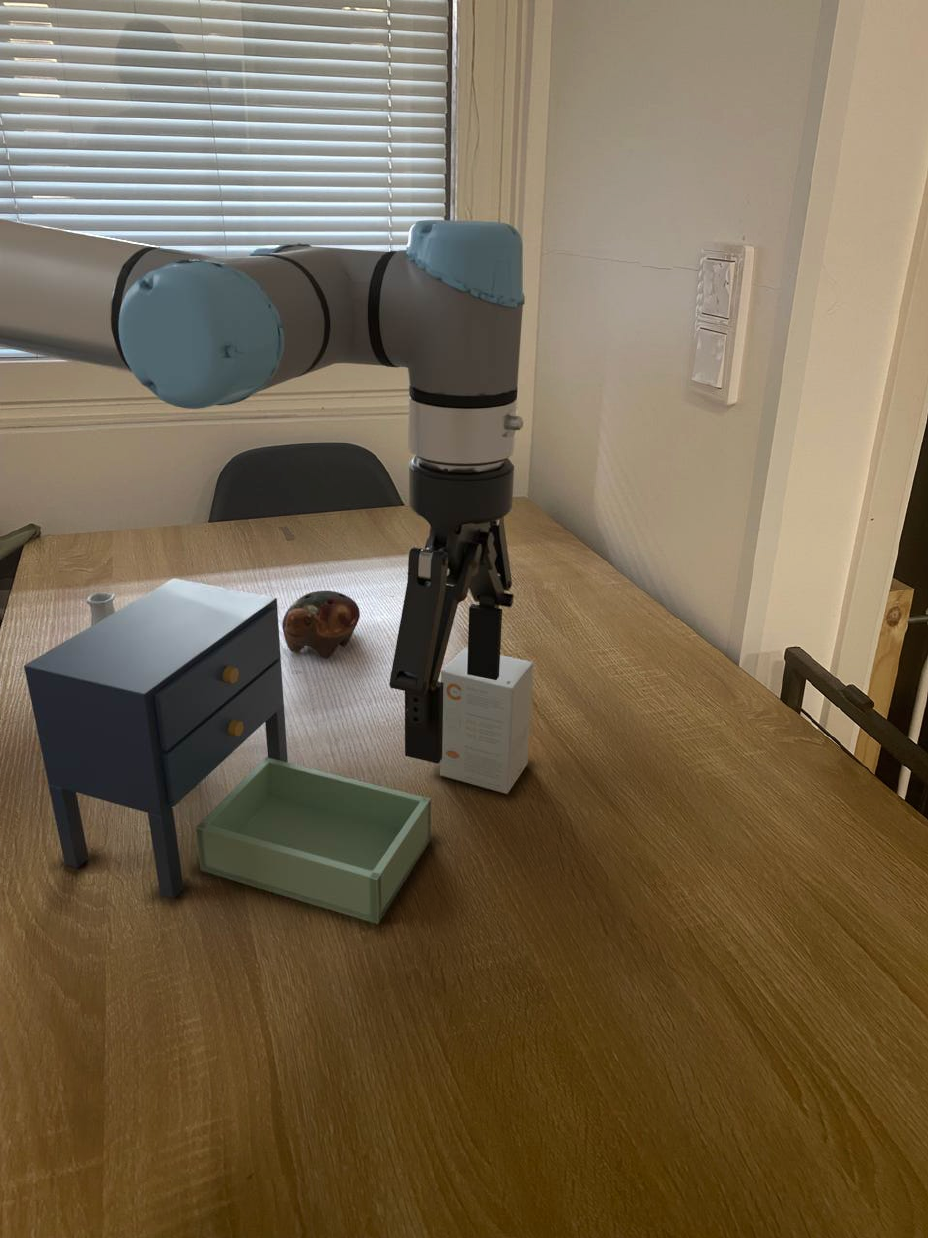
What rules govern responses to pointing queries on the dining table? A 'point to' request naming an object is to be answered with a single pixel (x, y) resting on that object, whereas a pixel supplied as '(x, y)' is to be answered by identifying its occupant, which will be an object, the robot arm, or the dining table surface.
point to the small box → (486, 723)
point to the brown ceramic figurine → (320, 622)
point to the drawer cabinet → (156, 706)
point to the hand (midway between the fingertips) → (455, 713)
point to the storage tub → (316, 838)
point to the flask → (100, 606)
